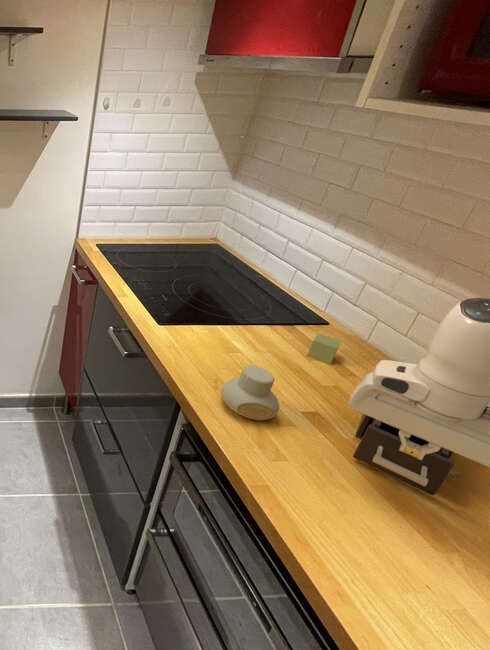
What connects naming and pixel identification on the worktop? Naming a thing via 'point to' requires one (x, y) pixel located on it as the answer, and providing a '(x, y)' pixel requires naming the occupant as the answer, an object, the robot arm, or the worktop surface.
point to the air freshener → (252, 394)
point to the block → (324, 348)
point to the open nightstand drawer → (402, 458)
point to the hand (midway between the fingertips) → (410, 453)
